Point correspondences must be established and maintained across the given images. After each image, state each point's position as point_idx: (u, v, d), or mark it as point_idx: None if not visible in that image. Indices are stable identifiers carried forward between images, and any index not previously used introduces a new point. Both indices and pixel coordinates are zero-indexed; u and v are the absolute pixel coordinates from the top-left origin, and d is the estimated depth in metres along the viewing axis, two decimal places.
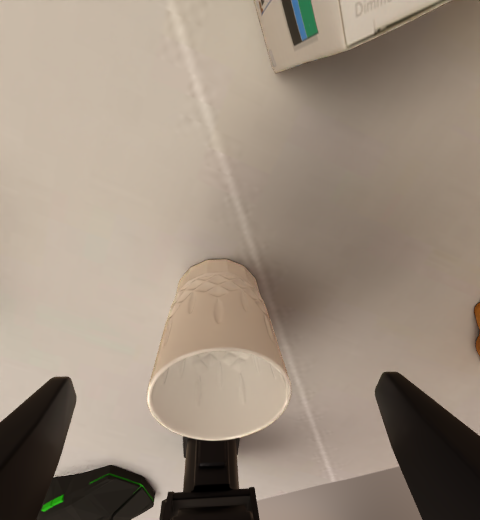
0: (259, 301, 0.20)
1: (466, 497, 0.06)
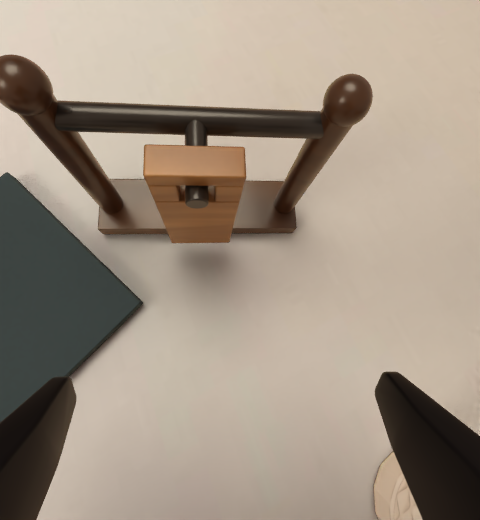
0: None
1: (466, 497, 0.06)
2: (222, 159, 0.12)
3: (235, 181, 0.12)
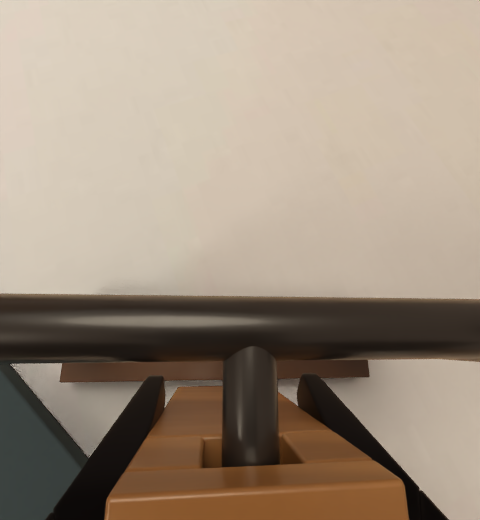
0: None
1: None
2: None
3: None
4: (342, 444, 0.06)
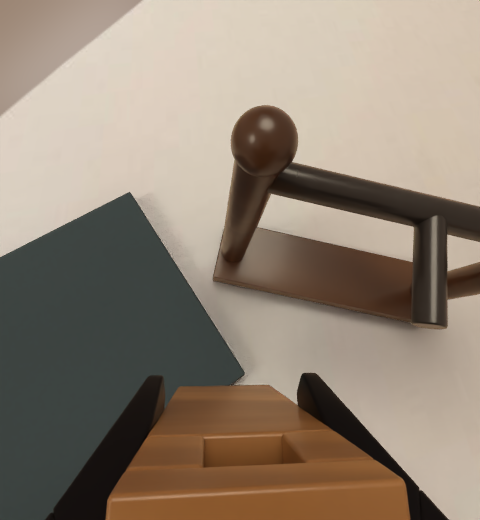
0: None
1: None
2: None
3: None
4: (343, 443, 0.06)
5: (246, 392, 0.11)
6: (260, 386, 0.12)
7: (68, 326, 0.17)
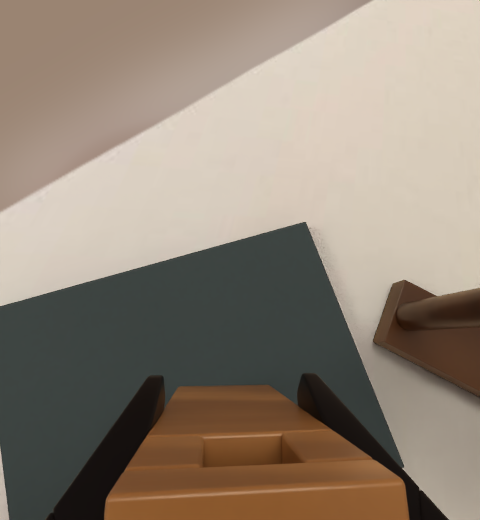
0: None
1: None
2: None
3: None
4: (342, 443, 0.06)
5: (246, 392, 0.11)
6: (260, 386, 0.12)
7: (223, 356, 0.16)
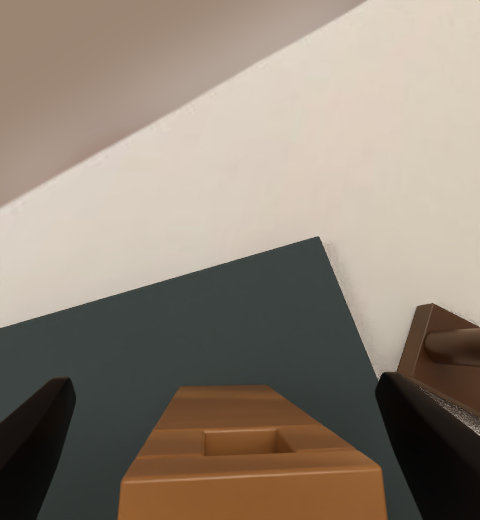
0: None
1: (466, 497, 0.06)
2: (329, 516, 0.04)
3: None
4: (330, 436, 0.06)
5: (244, 391, 0.12)
6: (258, 386, 0.13)
7: None
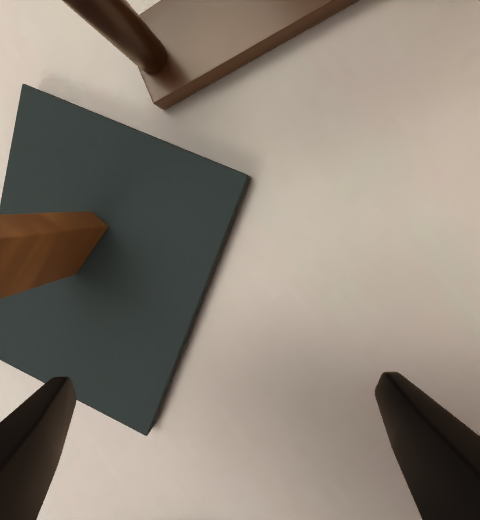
0: None
1: (466, 497, 0.06)
2: None
3: None
4: None
5: None
6: None
7: None
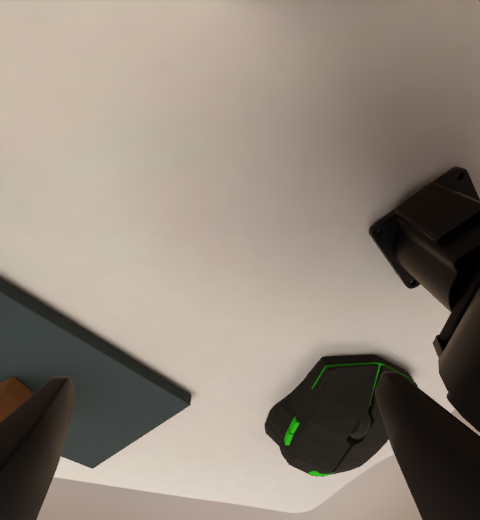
0: None
1: (466, 497, 0.06)
2: None
3: None
4: None
5: None
6: None
7: None
